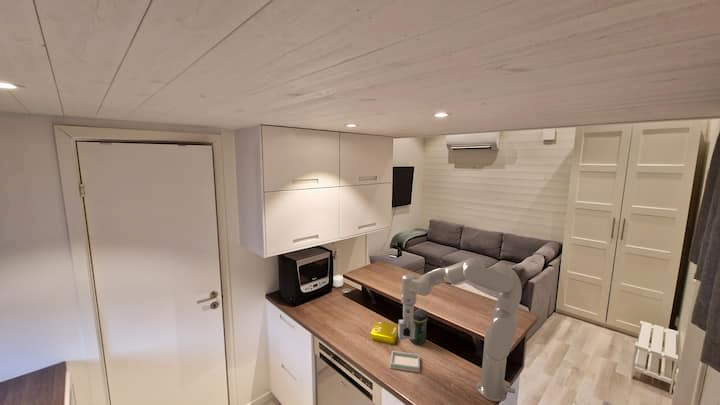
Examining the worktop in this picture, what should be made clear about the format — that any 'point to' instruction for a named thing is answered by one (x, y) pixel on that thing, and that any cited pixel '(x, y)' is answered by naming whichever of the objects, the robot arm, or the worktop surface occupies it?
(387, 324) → the element tile
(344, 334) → the worktop surface
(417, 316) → the coffee jar
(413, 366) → the white rectangular tray
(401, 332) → the medicine box
